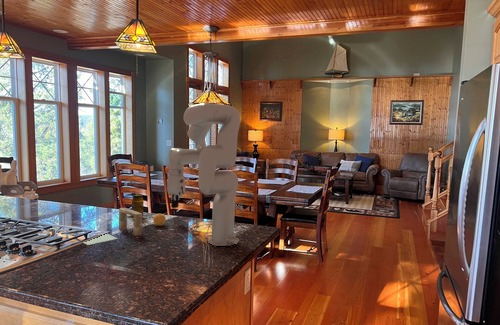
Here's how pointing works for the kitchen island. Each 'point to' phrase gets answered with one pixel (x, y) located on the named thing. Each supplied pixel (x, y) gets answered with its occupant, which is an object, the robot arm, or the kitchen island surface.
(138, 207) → the condiment
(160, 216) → the ball
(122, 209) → the bridge
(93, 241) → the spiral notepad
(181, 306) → the kitchen island surface
